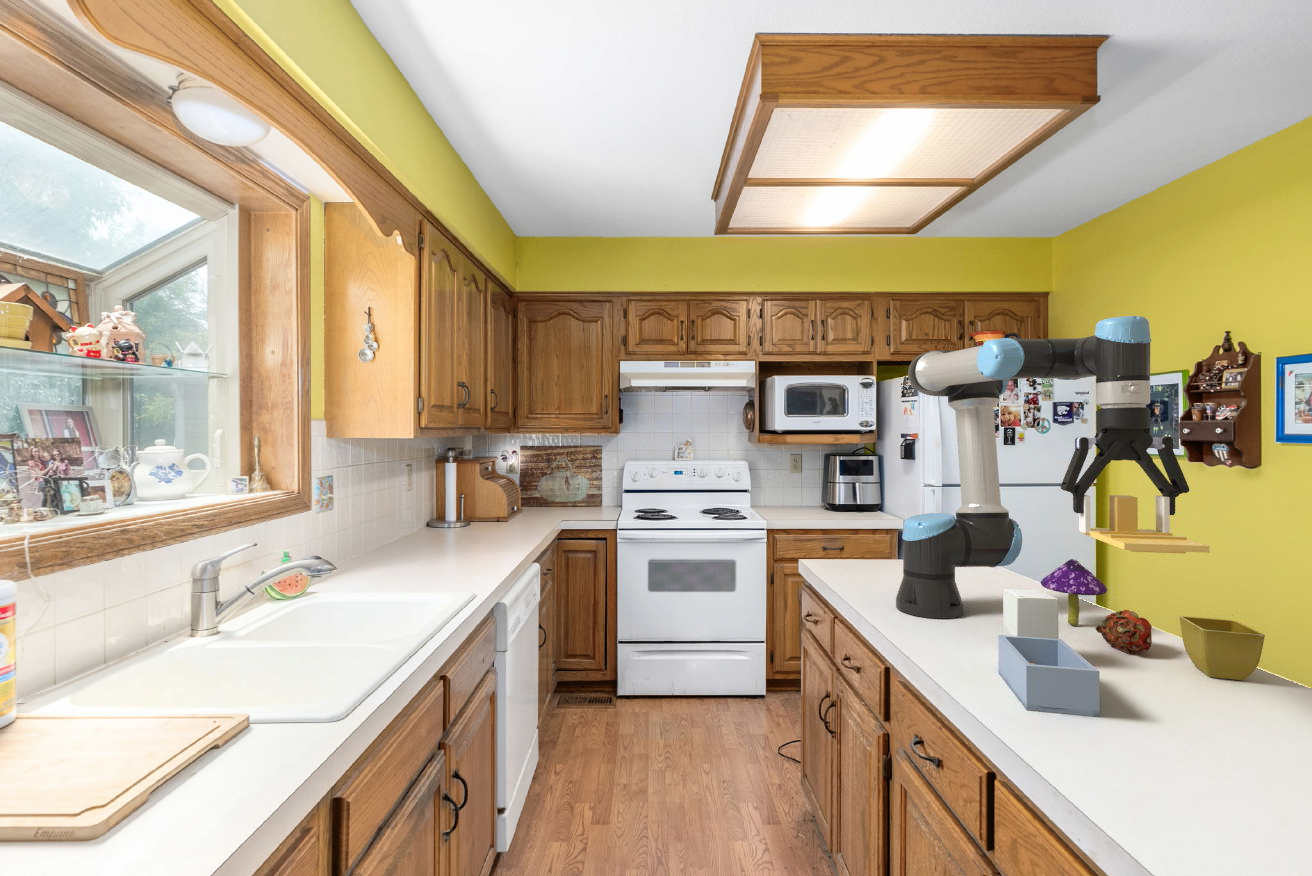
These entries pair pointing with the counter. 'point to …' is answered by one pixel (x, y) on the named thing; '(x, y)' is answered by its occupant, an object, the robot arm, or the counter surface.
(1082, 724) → the counter surface
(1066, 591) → the decorative mushroom
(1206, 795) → the counter surface
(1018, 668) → the tub
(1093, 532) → the lid
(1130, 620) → the dragon fruit
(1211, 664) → the flower pot
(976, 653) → the counter surface
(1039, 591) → the supplement box
